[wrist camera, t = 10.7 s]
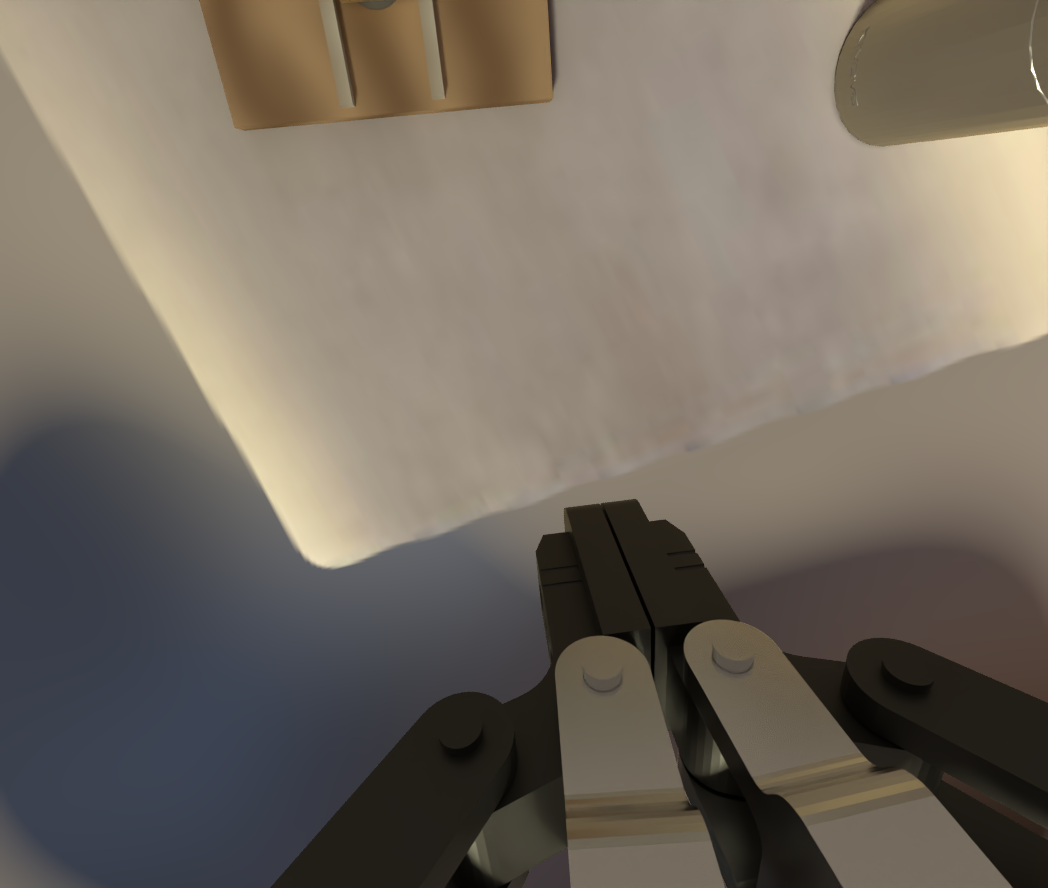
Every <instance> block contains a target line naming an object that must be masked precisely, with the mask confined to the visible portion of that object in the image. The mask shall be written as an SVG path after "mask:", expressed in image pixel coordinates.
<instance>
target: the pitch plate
mask: <svg viewBox="0 0 1048 888" xmlns="http://www.w3.org/2000/svg"><path fill="white" fill-rule="evenodd" d="M199 1H200V5H201V8H202V12H203V15H204V19H205V23H206V26H207V30H208V33H209V37H210V40H211V44H212V48H213V51H214V55H215V58H216V62H217V66H218V69H219V73H220V76H221V80H222V83H223V87H224V91H225V94H226V98H227V101H228V105H229V109H230V112H231V116H232V119H233V123H234V126H235V128H238V129H241V130H255V129H265V128H276V127H287V126H298V125H308V124H319V123H330V122H341V121H351V120H362V119H373V118H383V117H394V116H405V115H416V114H426V113H437V112H448V111H459V110H469V109H480V108H491V107H501V106H512V105H523V104H534V103H544V102H550V101H551V100H552V99H553V91H552V73H551V55H550V38H549V20H548V2H547V0H377V1H365V2H353V3H341V2H340V0H199Z"/></svg>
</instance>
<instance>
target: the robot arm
mask: <svg viewBox="0 0 1048 888" xmlns="http://www.w3.org/2000/svg"><path fill="white" fill-rule="evenodd" d="M835 99H836V106H837V110H838V112H839V115H840V118H841V121H842V122H843V124H844V125H845V127H846V128H847V130H848V131H849V132H850V133H851V134H852V135H853V136H855V137H856V138H857V139H858V140H860V141H862V142H865V143H867V144H869V145H875V146H890V145H899V144H907V143H916V142H924V141H935V140H943V139H951V138H959V137H967V136H975V135H983V134H991V133H999V132H1007V131H1015V130H1023V129H1031V128H1039V127H1047V126H1048V0H877V1H876V2H874V3H873V4H872V5H871V6H870V7H869V8H868V9H867V10H866V11H865V12H864V14H863V15H862V16H861V17H860V18H859V20H858V21H857V22H856V23H855V25H854V27H853V29H852V30H851V32H850V34H849V36H848V37H847V39H846V41H845V44H844V46H843V49H842V51H841V54H840V57H839V60H838V65H837V69H836V74H835ZM564 524H565V532H564V533H556V534H548V535H543V537H542V539H541V541H540V544H539V546H538V548H537V550H536V559H537V570H538V579H539V590H540V600H541V610H542V616H543V622H544V628H545V634H546V640H547V646H548V652H549V658H550V665H551V666H550V668H549V670H548V672H547V674H546V675H545V677H544V678H543V680H542V681H541V682H540V683H539V684H538V685H537V686H536V687H534V688H533V689H532V690H530V691H529V692H527V693H525V694H523V695H521V696H519V697H518V698H515V699H513V700H511V701H508V702H507V703H504V704H501V703H500V702H499V701H498V700H496V699H494V698H493V697H491V696H489V695H486V694H482V693H478V692H464V693H458V694H453V695H451V696H448V697H446V698H444V699H442V700H440V701H438V702H436V703H435V704H434V705H432V706H431V707H430V708H429V709H428V710H427V711H426V712H425V713H424V714H423V715H422V716H421V717H420V718H419V719H418V720H417V722H416V723H415V724H414V725H413V726H412V727H411V728H410V730H409V731H408V732H407V733H406V734H405V735H404V736H403V737H402V739H401V740H400V741H399V742H398V743H397V744H396V745H395V747H394V748H393V749H392V750H391V751H390V752H389V753H388V755H387V756H386V757H385V758H384V759H383V760H382V761H381V763H380V764H379V765H378V766H377V767H376V768H375V769H374V771H373V772H372V773H371V774H370V775H369V776H368V777H367V778H366V780H365V781H364V782H363V783H362V784H361V785H360V786H359V787H358V789H357V790H356V791H355V792H354V793H353V794H352V796H351V797H350V798H349V799H348V800H347V801H346V802H345V803H344V805H343V806H342V807H341V808H340V809H339V810H338V811H337V813H336V814H335V815H334V816H333V817H332V818H331V819H330V821H329V822H328V823H327V824H326V825H325V826H324V827H323V828H322V830H321V831H320V832H319V833H318V834H317V835H316V836H315V838H314V839H313V840H312V841H311V842H310V843H309V844H308V846H307V847H306V848H305V849H304V850H303V851H302V852H301V853H300V855H299V856H298V857H297V858H296V859H295V860H294V861H293V862H292V864H291V865H290V866H289V867H288V868H287V869H286V870H285V872H284V873H283V874H282V875H281V876H280V877H279V879H278V880H277V881H276V882H275V883H274V884H273V885H272V886H271V888H522V886H523V885H524V883H525V881H526V878H527V876H528V873H529V870H530V869H531V868H533V867H535V866H536V865H538V864H540V863H542V862H543V861H545V860H546V859H548V858H550V857H552V856H553V855H555V854H557V853H558V852H560V851H562V850H564V849H565V848H567V847H568V854H569V866H570V880H571V888H725V886H724V883H725V885H726V887H727V888H1048V840H1047V839H1045V838H1043V837H1041V836H1039V835H1037V834H1035V833H1034V832H1032V831H1030V830H1029V829H1027V828H1025V827H1023V826H1022V825H1019V824H1018V823H1016V822H1015V821H1013V820H1011V819H1009V818H1008V817H1006V816H1004V815H1002V814H1000V813H998V812H997V811H995V810H994V809H992V808H990V807H988V806H986V805H985V804H983V803H981V802H979V801H977V800H976V799H974V798H972V797H971V796H969V795H967V794H965V793H964V792H962V791H960V790H958V789H957V788H955V787H953V786H951V785H949V784H948V783H946V782H944V781H942V780H941V779H942V777H943V774H944V772H946V773H948V774H949V775H951V776H953V777H955V778H957V779H958V780H960V781H962V782H964V783H966V784H967V785H969V786H971V787H973V788H974V789H976V790H978V791H980V792H982V793H983V794H985V795H987V796H989V797H991V798H992V799H994V800H996V801H998V802H999V803H1002V804H1003V805H1005V806H1007V807H1009V808H1010V809H1012V810H1014V811H1016V812H1018V813H1019V814H1021V815H1023V816H1025V817H1026V818H1028V819H1030V820H1032V821H1034V822H1035V823H1037V824H1039V825H1041V826H1043V827H1044V828H1046V829H1048V703H1047V702H1044V701H1042V700H1040V699H1038V698H1035V697H1033V696H1031V695H1028V694H1026V693H1024V692H1022V691H1019V690H1017V689H1015V688H1012V687H1010V686H1008V685H1006V684H1003V683H1001V682H999V681H996V680H994V679H992V678H990V677H987V676H985V675H983V674H980V673H978V672H976V671H973V670H971V669H969V668H967V667H964V666H962V665H960V664H957V663H955V662H953V661H951V660H948V659H946V658H944V657H941V656H939V655H937V654H935V653H932V652H930V651H928V650H925V649H923V648H921V647H918V646H916V645H913V644H911V643H907V642H904V641H900V640H895V639H889V638H871V639H866V640H863V641H860V642H858V643H856V644H855V645H853V647H852V648H851V649H850V650H849V652H848V655H847V658H846V662H841V661H833V660H825V659H817V658H809V657H802V656H796V655H792V654H788V653H785V652H782V651H781V650H780V649H779V648H778V646H777V645H776V644H775V643H774V642H773V641H772V639H770V638H769V637H768V636H767V635H766V634H764V633H763V632H761V631H760V630H758V629H756V628H754V627H752V626H750V625H747V624H744V623H741V622H740V620H739V619H738V617H737V616H736V614H735V612H734V611H733V609H732V608H731V606H730V605H729V603H728V601H727V600H726V598H725V597H724V595H723V593H722V592H721V590H720V589H719V587H718V585H717V584H716V582H715V581H714V579H713V578H712V576H711V575H710V573H709V571H708V570H707V568H705V567H704V563H703V562H702V560H701V558H700V557H699V555H698V554H697V553H695V549H694V547H693V546H692V544H691V543H690V541H689V540H688V538H687V536H686V535H685V533H684V532H682V531H681V530H680V529H678V528H677V527H675V526H674V525H672V524H671V523H669V522H668V521H667V520H658V521H650V522H649V520H648V519H647V517H646V515H645V513H644V511H643V509H642V507H641V506H640V504H639V502H638V501H637V500H636V499H632V500H624V501H616V502H607V503H601V505H600V504H592V505H584V506H577V507H568V508H564ZM670 730H671V731H672V734H673V737H674V739H675V742H676V745H677V747H678V766H677V763H676V759H675V755H674V752H673V748H672V745H671V741H670V738H669V734H668V731H670ZM684 790H685V791H684ZM685 792H686V794H685ZM686 795H687V797H688V799H689V802H690V803H689V802H688V799H687V797H686ZM690 804H691V805H690ZM722 878H723V879H722ZM723 880H724V882H723Z"/></svg>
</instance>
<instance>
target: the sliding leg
mask: <svg viewBox="0 0 1048 888" xmlns="http://www.w3.org/2000/svg"><path fill="white" fill-rule="evenodd" d="M365 1H377V0H340V2H341V3H353V2H365Z"/></svg>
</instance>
